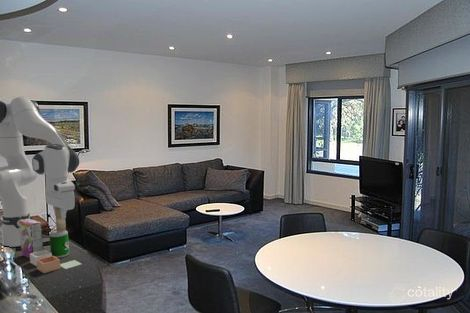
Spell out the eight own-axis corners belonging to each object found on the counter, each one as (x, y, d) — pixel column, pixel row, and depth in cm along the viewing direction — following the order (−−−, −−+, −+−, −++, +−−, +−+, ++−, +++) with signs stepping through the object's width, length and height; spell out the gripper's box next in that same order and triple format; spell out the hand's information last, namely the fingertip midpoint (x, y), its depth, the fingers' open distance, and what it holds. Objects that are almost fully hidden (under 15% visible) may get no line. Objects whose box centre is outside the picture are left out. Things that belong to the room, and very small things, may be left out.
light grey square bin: (30, 263, 174) (29, 253, 173) (46, 259, 179) (45, 249, 178) (36, 267, 170) (35, 257, 169) (52, 263, 174) (51, 253, 174)
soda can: (62, 260, 178) (60, 233, 176) (47, 259, 179) (45, 232, 178) (72, 254, 185) (71, 228, 184) (58, 253, 186) (56, 227, 185)
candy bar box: (20, 255, 184) (18, 220, 182) (31, 252, 188) (29, 218, 186) (33, 261, 177) (30, 224, 175) (44, 257, 181) (41, 221, 179)
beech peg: (55, 230, 168) (53, 206, 166) (63, 228, 170) (62, 205, 169) (58, 232, 165) (57, 208, 164) (67, 230, 168) (65, 206, 167)
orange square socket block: (37, 270, 166) (36, 259, 166) (53, 265, 171) (52, 255, 171) (44, 274, 162) (43, 263, 161) (60, 269, 167) (59, 259, 166)
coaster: (58, 266, 171) (58, 264, 171) (74, 261, 176) (74, 260, 176) (65, 270, 166) (65, 268, 166) (82, 265, 171) (82, 264, 171)
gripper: (40, 182, 170) (42, 214, 172) (60, 188, 156) (63, 223, 158) (55, 180, 175) (57, 211, 176) (76, 185, 161) (79, 219, 162)
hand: (60, 217), depth 167 cm, fingers closed on beech peg, 4 cm apart
